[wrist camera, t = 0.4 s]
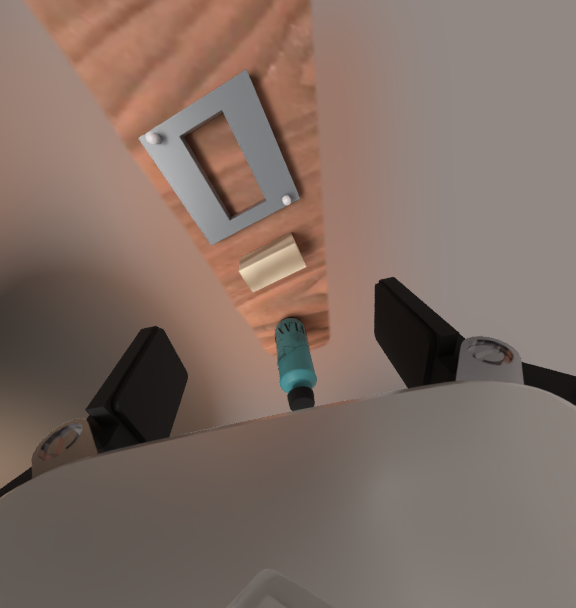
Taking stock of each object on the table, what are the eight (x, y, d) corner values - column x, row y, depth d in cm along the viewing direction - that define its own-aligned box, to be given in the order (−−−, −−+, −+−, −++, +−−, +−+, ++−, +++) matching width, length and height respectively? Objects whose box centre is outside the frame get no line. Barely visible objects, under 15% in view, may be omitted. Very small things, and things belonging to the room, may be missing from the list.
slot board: (145, 138, 34) (131, 137, 30) (247, 74, 31) (245, 64, 28) (213, 240, 42) (209, 249, 38) (297, 196, 40) (302, 200, 36)
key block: (240, 257, 44) (238, 270, 39) (290, 231, 43) (294, 242, 38) (253, 276, 47) (252, 292, 42) (300, 253, 45) (306, 266, 40)
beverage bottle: (306, 313, 52) (328, 391, 35) (300, 337, 56) (319, 419, 39) (275, 312, 51) (284, 391, 34) (272, 336, 55) (278, 420, 38)
